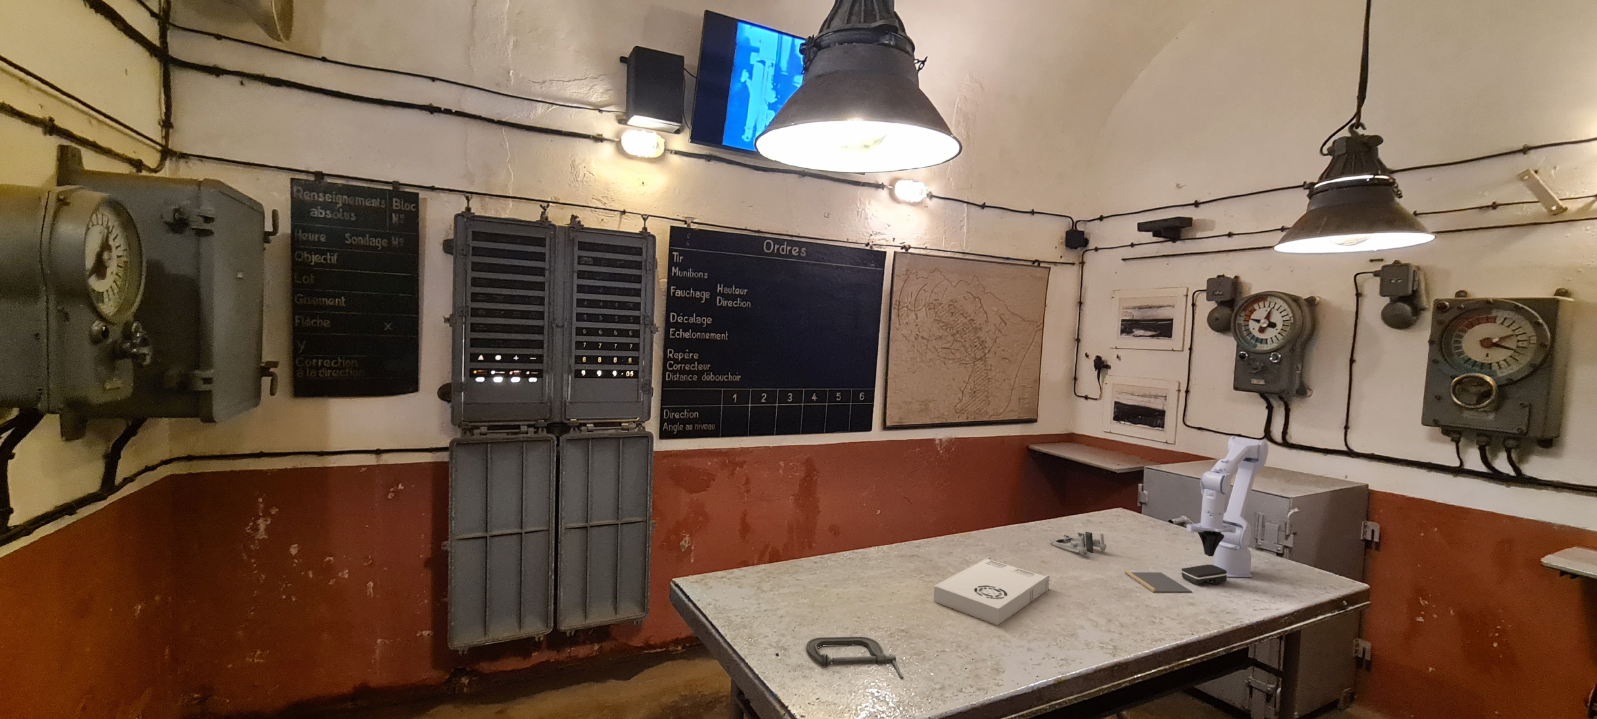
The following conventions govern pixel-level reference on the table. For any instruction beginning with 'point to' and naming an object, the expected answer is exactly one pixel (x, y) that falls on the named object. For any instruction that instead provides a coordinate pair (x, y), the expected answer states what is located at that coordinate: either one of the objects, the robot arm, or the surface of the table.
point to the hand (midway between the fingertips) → (1208, 555)
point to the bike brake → (1081, 543)
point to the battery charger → (1204, 574)
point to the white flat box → (990, 590)
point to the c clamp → (871, 644)
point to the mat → (1157, 582)
